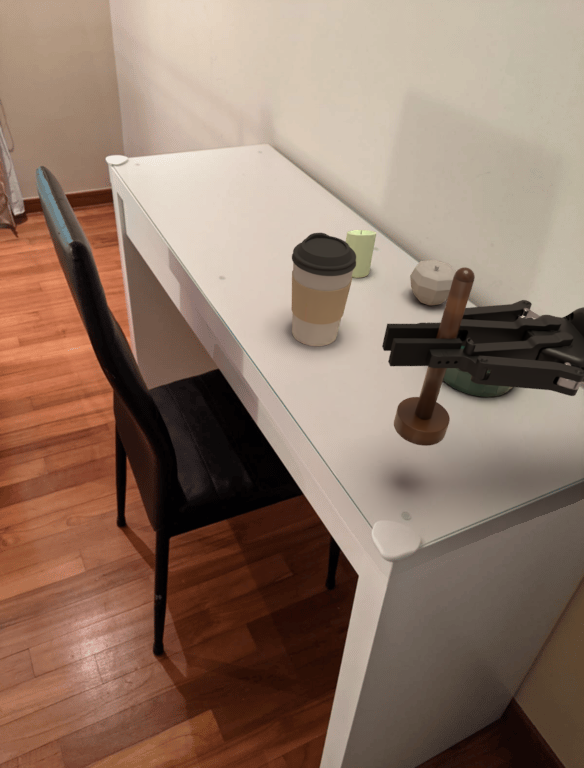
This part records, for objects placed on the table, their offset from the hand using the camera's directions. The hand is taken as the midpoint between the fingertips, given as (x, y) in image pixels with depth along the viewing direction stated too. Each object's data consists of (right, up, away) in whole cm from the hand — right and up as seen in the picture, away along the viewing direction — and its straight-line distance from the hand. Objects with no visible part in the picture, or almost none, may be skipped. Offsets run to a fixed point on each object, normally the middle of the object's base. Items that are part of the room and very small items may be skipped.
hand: (389, 344), depth 58 cm
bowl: (+17, -2, +31) cm, 35 cm away
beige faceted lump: (+14, +10, +45) cm, 49 cm away
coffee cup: (-6, +4, +35) cm, 36 cm away
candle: (+2, +16, +51) cm, 54 cm away
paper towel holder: (+4, -8, +8) cm, 12 cm away
